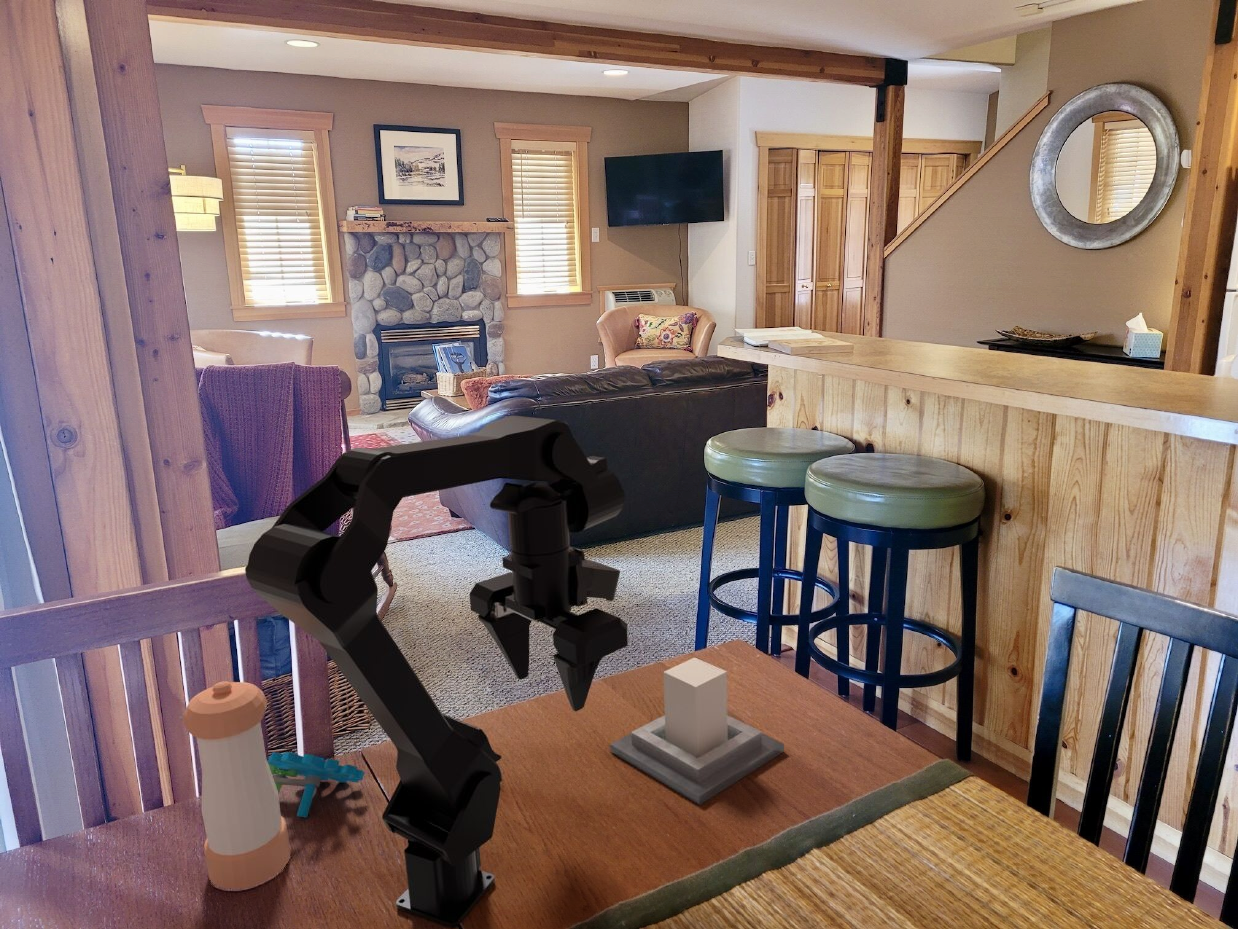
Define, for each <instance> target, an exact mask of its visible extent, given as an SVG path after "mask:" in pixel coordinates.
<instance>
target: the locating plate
mask: <svg viewBox="0 0 1238 929" xmlns="http://www.w3.org/2000/svg"><path fill="white" fill-rule="evenodd" d="M727 725H728V741H727V742H725V743H723V744H722V745H720V746H718V747H716V748H715V749H713V750H711V751H709V752H708V753H706V754H704V755H703V756H701V757H699V758H696V757H694V756H692V755H691V754H689V753H687V752H685V751H683V750H681V749H680V748H678V747H676V746H674V745H672V744H670V743H669V742H667V741H666V740H665V714H664V715H662V716H659V717H658V718H655V719H654V720H652V721H651V722H649V723H646V724H644V725H643V726H640V727H638V728H637V729H634V730H633V731H631V733H629V734H626V735H625V736H623V737H621V738H619V739H617V740H615V741H613V742H611V743H610V746H609V747H610V748H609V749H610V753H612V754H614V755H615V756H617V757H619V758H620V759H622V760H623V761H625V762H627V763H629V764H630V765H632V766H634V767H635V768H636V769H638V770H640V771H642V772H644V774H646V775H649V776H650V777H652V778H653V779H655V780H657V781H659V783H662V784H663V785H665V786H666V787H668V788H670V789H671V790H673V791H675V792H676V793H678V794H680V795H682V796H683V797H686V799H689V800H690V801H691V802H694V804H696V805H699V806H700V805H702V804H703V803H705V802H706V801H708V800H710V799H712V798H713V797H714V796H716V795H718V794H720V792H722V791H724V790H725V789H727V788H729V787H730V786H732V785H734V784H735V783H737V782H739V780H741V779H743V778H745V777H746V776H748V775H750V774H751V773H753V772H754V771H756V770H758V769H759V768H760V767H762V766H764V765H765V764H767V763H768V762H770V761H771V760H773V759H775V758H777V757H778V756H779V755H781V754H782V753H784V752H785V743H784V742H781V741H779V740H777V739H775V738H773V737H771V736H769V735H767V734H764V733H763V731H762V730H759V729H757V728H754V727H753V726H751V725H748V724H746V723H744V722H742V721H740V720H738V719H736V718H734V717H732V716H730V715H728V714H727Z"/></svg>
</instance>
